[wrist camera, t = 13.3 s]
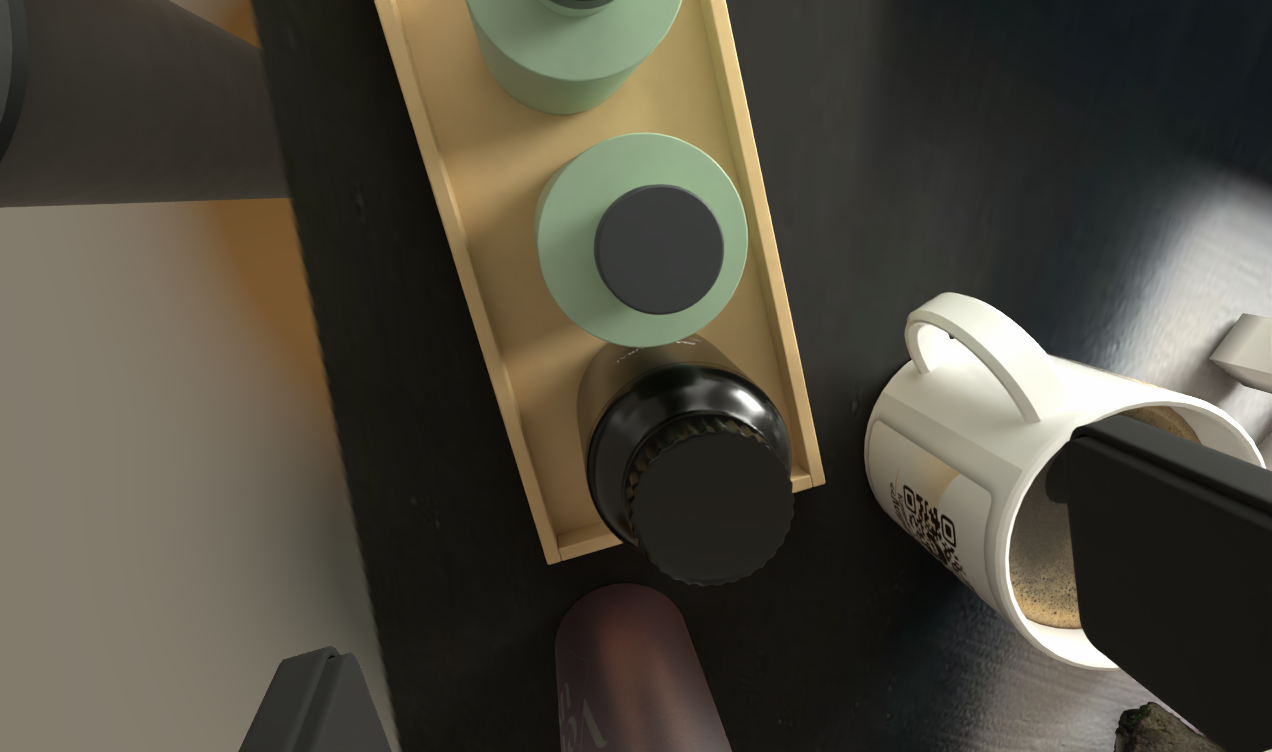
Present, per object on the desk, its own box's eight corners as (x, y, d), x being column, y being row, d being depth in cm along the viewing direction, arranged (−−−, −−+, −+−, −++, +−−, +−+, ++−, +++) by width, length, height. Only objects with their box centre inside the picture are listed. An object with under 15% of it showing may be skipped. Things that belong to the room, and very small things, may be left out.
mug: (833, 537, 38) (955, 674, 27) (869, 276, 35) (1019, 313, 25) (1043, 542, 39) (1236, 673, 29) (1092, 292, 37) (1324, 334, 26)
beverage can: (648, 711, 38) (722, 1026, 24) (532, 668, 37) (536, 974, 23) (706, 603, 38) (819, 863, 23) (589, 556, 36) (631, 799, 22)
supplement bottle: (649, 287, 33) (715, 339, 22) (765, 393, 35) (883, 493, 24) (538, 410, 34) (544, 525, 22) (657, 509, 36) (721, 663, 24)
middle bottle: (556, 319, 33) (576, 397, 21) (515, 171, 32) (508, 159, 19) (698, 280, 34) (801, 334, 21) (663, 132, 32) (752, 96, 20)
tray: (546, 544, 36) (547, 565, 34) (358, -71, 30) (346, -90, 28) (809, 467, 37) (826, 483, 35) (679, -147, 31) (690, -171, 29)
